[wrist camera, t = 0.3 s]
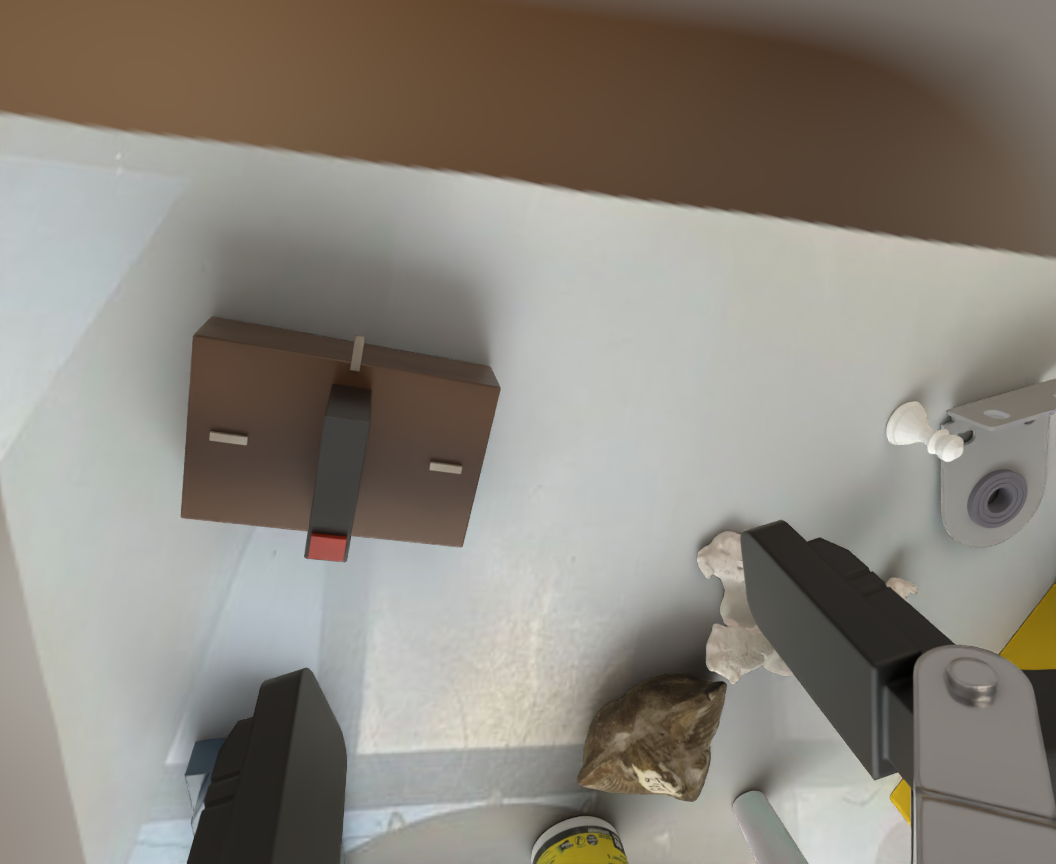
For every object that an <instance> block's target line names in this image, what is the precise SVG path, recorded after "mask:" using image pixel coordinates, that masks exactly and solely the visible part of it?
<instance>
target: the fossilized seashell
mask: <svg viewBox="0 0 1056 864" xmlns="http://www.w3.org/2000/svg"><path fill="white" fill-rule="evenodd" d="M726 687H727V684H726V683H725V682H723V681H718V682H712V681H708V680H705V679H701V678H698V677H695V676H691V675H685V674H664V675H660V676H656V677H654V678H650V679H648V680H646V681H644V682H642V683H640V684H637V685H636V686H635V687H634V688H632V689H631V690H629V691H628V692H627V693H626V694H625V695H624V697H623V698H621V699H620V700H617V701H613V702H611V703H609V704H607V705H605V706H604V707H603V708H602V709H601V710H600V711H599V712H598V713H597V715H596V716H595V718H594V719H593V721H592V723H591V725H590V727H589V730H588V734H587V738H586V741H585V746H584V756H583V767H582V769H581V770H580V773H579V775H578V778H577V781H578V784H579V785H581V786H582V787H587V788H592V789H597V790H602V791H606V792H612V793H624V794H663V795H668V796H672V797H674V798H676V799H679V800H683V801H688V802H689V801H690V802H692V801H695V800H697V798H698V797H699V795H700V793H701V790H702V788H703V786H704V783H705V779H706V776H707V773H708V771H709V766H710V759H711V753H710V743H711V740H712V738H713V737H714V735H715V733H716V731H717V728H718V726H719V720H720V716H721V713H722V709H723V705H724V700H725V693H726Z"/></svg>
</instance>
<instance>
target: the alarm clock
mask: <svg viewBox="0 0 1056 864" xmlns="http://www.w3.org/2000/svg"><path fill="white" fill-rule="evenodd" d="M1000 656H1002V657H1004V658H1005V659H1007V660H1009V661H1010V662H1012V663H1013V664H1014V665H1016V666H1017V667H1018V668H1019V669H1022V670H1044V669H1056V582H1055V583H1054V585H1053V586H1052V587H1051V589H1050V590H1049V591H1048V593H1047V594H1046V595H1045V596H1044V598H1043V599H1042V600H1041V602H1040V603H1039V604H1038V605H1037V607H1036V608H1035V609H1034V611H1033V612H1032V613H1031V614H1030V616H1029V617H1028V618H1027V620H1026V621H1025V622H1024V624H1023V625H1022V626H1021V627H1020V629H1019V630H1018V631H1017V633H1016V634H1015V635H1014V636H1013V638H1012V639H1011V640H1010V642H1009V643H1008V644H1007V645H1006V647H1005V648H1004V649H1003V651H1002V652H1001V653H1000ZM890 799H891V801H892V803H893V804H894V805H895V806H896V808H897V809H898V810H899V812H900V813H901V814H902V816H903V817H904V818H905V820H906V821H907V822H908V824H909V825H910V826H911V787H910V786H909V785H908V784H907V782H906V781H905V780H904V779H903V780H902V781H901V782H900V784H899V785H898V786H897V788H896V789H895V790H894V791H893V793H892V794H891V796H890Z"/></svg>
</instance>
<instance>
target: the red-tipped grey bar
mask: <svg viewBox="0 0 1056 864" xmlns="http://www.w3.org/2000/svg"><path fill="white" fill-rule="evenodd" d="M371 404H372V390H368V389H362V388H356V387H350V386H343V385H337V384H332V385H331V390H330V394H329V399H328V403H327V408H326V412H325V417H324V423H323V430H322V437H321V444H320V451H319V458H318V465H317V472H316V479H315V486H314V492H313V499H312V506H311V513H310V520H309V527H308V534H307V541H306V548H305V555H304V557H305V558H306V559H316V560H327V561H337V562H346V561H347V557H348V551H349V546H350V540H351V534H352V528H353V522H354V516H355V511H356V505H357V499H358V493H359V487H360V481H361V476H362V470H363V464H364V458H365V452H366V446H367V441H368V435H369V429H370V422H371Z"/></svg>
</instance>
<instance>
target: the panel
mask: <svg viewBox="0 0 1056 864" xmlns="http://www.w3.org/2000/svg"><path fill="white" fill-rule="evenodd" d="M364 340H365V337H362V336H355V342H353V341H347V340H342V339H336V338H331V337H325V336H319V335H314V334H308V333H303V332H297V331H292V330H286V329H281V328H275V327H269V326H264V325H258V324H253V323H247V322H242V321H236V320H230V319H225V318H219V317H214V316H213V317H211V318H210V319H209V320H208V321H207V322H206V323H205V324H204V325H203V326H202V327H201V328H200V329H199V330H198V331H197V332H196V333H195V334H194V335H193V342H192V357H191V372H190V387H189V402H188V416H187V431H186V446H185V461H184V475H183V490H182V505H181V518H185V519H195V520H204V521H214V522H224V523H233V524H243V525H252V526H262V527H271V528H281V529H290V530H300V531H308V527H309V520H310V513H311V506H312V499H313V492H314V486H315V479H316V472H317V465H318V458H319V451H320V444H321V437H322V430H323V423H324V417H325V412H326V408H327V403H328V399H329V394H330V390H331V385H332V384H337V385H343V386H350V387H356V388H362V389H368V390H372V404H371V422H370V429H369V435H368V441H367V446H366V452H365V458H364V464H363V470H362V476H361V481H360V487H359V493H358V499H357V505H356V511H355V516H354V522H353V528H352V534H351V536H357V537H367V538H376V539H386V540H395V541H405V542H414V543H424V544H433V545H443V546H452V547H462V546H463V543H464V539H465V535H466V531H467V527H468V523H469V518H470V514H471V510H472V506H473V502H474V498H475V493H476V489H477V485H478V481H479V477H480V473H481V468H482V464H483V460H484V456H485V452H486V448H487V443H488V439H489V435H490V431H491V427H492V423H493V418H494V414H495V410H496V406H497V402H498V398H499V393H500V389H501V388H500V386H499V383H498V381H497V379H496V377H495V375H494V372H493V370H492V368H491V367H490V366H486V365H481V364H475V363H470V362H464V361H459V360H453V359H447V358H442V357H436V356H431V355H425V354H420V353H414V352H409V351H403V350H397V349H392V348H386V347H381V346H375V345H370V344H364Z"/></svg>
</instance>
